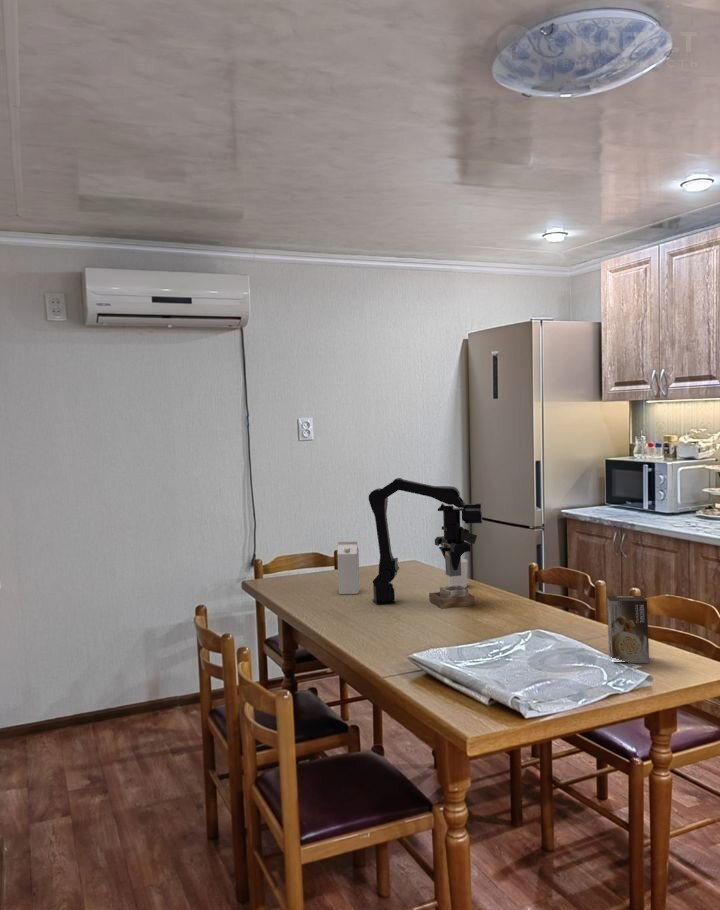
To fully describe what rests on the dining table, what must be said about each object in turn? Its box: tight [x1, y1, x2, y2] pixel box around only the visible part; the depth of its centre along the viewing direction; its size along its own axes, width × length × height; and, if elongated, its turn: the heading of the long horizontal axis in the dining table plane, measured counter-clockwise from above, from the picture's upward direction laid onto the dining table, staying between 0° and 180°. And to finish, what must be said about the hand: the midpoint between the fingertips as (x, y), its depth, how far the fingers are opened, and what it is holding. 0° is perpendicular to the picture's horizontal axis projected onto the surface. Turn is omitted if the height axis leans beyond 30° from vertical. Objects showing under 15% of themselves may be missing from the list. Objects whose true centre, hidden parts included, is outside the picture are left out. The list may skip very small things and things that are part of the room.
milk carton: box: [337, 540, 361, 595], centre depth 284 cm, size 7×7×19 cm
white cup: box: [447, 558, 468, 589], centre depth 287 cm, size 8×8×10 cm
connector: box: [444, 551, 462, 577], centre depth 262 cm, size 4×4×8 cm
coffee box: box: [606, 594, 650, 664], centre depth 195 cm, size 9×6×16 cm
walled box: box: [428, 585, 475, 609], centre depth 262 cm, size 12×11×5 cm
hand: (453, 569), depth 262 cm, fingers closed on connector, 4 cm apart
